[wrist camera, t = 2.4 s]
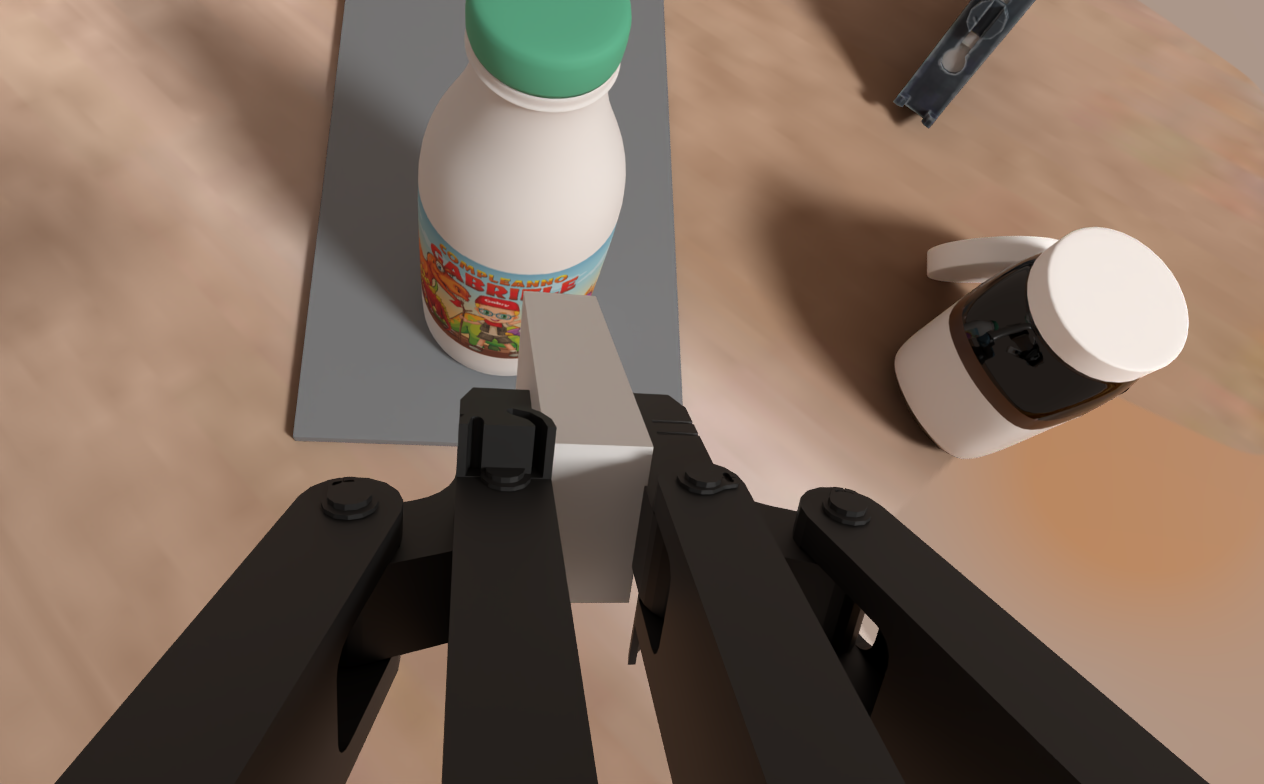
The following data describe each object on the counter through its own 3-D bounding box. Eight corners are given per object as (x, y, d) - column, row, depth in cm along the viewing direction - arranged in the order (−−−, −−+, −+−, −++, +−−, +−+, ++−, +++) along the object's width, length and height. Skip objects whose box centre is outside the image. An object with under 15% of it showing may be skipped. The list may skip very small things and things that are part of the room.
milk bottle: (420, 238, 41) (402, -130, 23) (573, 239, 43) (672, -100, 24) (424, 383, 39) (408, 103, 20) (586, 378, 40) (707, 118, 22)
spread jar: (931, 489, 43) (1092, 422, 32) (820, 307, 45) (936, 189, 35) (1086, 401, 47) (1274, 315, 36) (977, 238, 49) (1124, 112, 39)
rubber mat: (681, 454, 41) (684, 450, 40) (295, 440, 37) (293, 436, 36) (657, -65, 52) (660, -73, 52) (360, -114, 49) (360, -123, 48)
